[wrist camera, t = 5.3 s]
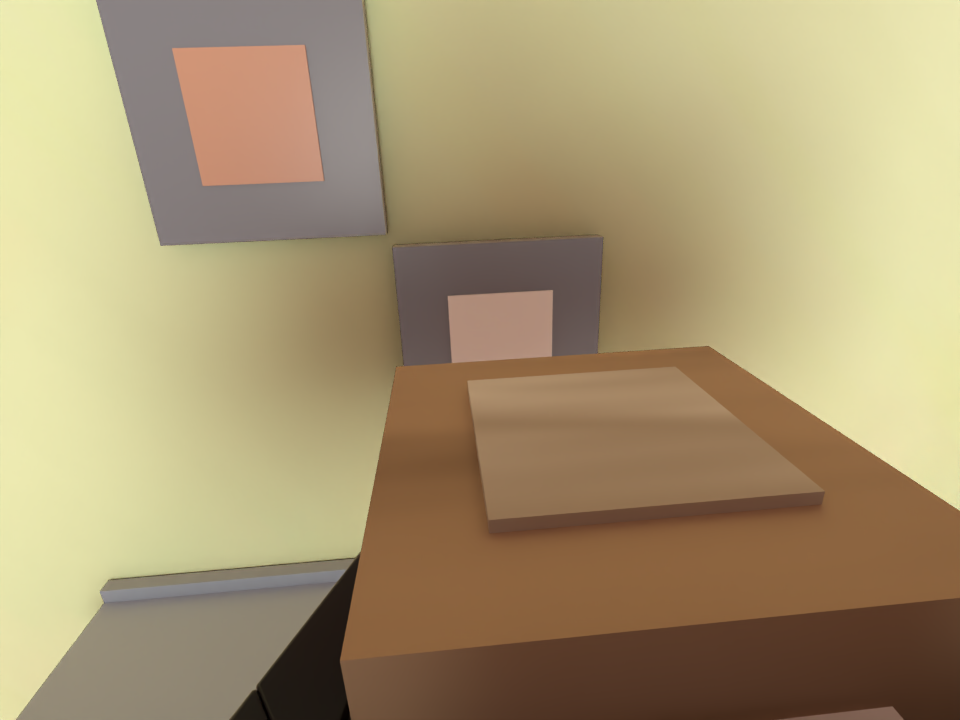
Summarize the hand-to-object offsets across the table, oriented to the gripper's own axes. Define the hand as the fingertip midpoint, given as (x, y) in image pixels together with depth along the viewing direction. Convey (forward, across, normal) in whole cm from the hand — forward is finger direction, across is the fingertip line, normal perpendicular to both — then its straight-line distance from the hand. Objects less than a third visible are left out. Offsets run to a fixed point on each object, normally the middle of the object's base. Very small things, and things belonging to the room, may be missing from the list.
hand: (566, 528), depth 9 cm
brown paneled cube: (+1, 0, 0) cm, 1 cm away
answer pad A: (+10, 0, 0) cm, 10 cm away
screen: (+10, +10, +11) cm, 18 cm away
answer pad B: (+10, +7, -8) cm, 15 cm away
